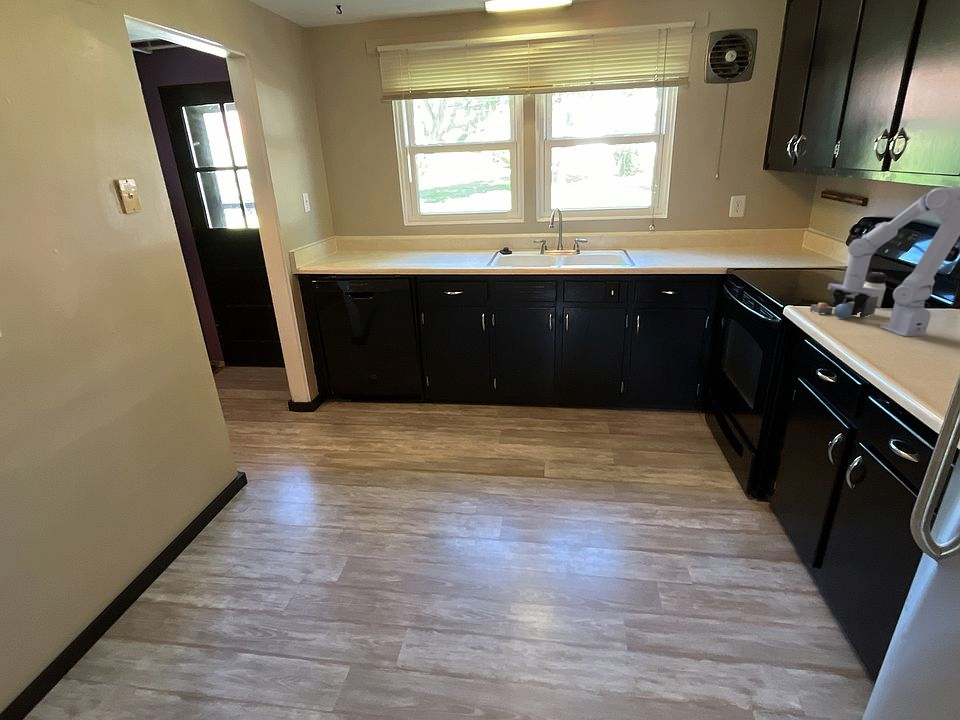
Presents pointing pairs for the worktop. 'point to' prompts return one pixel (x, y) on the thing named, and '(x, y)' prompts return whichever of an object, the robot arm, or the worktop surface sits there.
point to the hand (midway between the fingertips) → (846, 313)
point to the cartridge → (844, 310)
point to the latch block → (821, 309)
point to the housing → (867, 306)
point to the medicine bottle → (876, 285)
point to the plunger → (822, 304)
